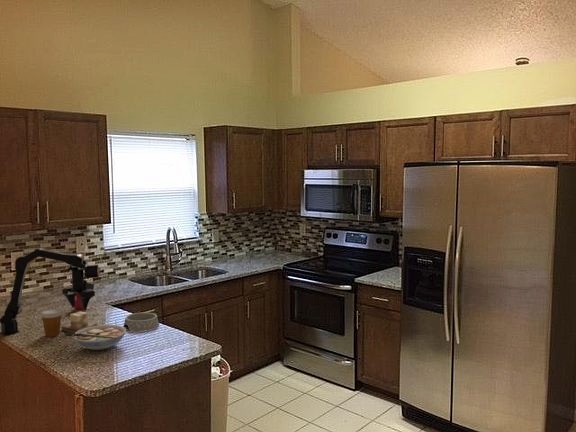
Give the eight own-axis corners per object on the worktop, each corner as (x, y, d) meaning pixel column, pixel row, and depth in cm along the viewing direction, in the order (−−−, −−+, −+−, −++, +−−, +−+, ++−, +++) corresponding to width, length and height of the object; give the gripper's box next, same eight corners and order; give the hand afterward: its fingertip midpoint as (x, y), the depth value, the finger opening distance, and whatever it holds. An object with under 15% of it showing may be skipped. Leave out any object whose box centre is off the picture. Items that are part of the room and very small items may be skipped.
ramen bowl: (138, 341, 235) (137, 324, 234) (110, 359, 213) (110, 340, 212) (91, 337, 241) (91, 321, 240) (60, 354, 219) (59, 336, 218)
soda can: (72, 312, 284) (71, 291, 283) (74, 308, 291) (73, 288, 290) (86, 311, 286) (85, 290, 285) (87, 307, 293) (86, 288, 292)
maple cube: (78, 327, 250) (77, 316, 249) (70, 325, 253) (70, 314, 252) (88, 324, 255) (87, 313, 254) (80, 322, 258) (80, 311, 257)
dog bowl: (147, 319, 272) (147, 309, 271) (164, 326, 259) (164, 316, 259) (118, 325, 260) (117, 316, 259) (135, 334, 247) (134, 323, 246)
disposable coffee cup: (42, 333, 247) (41, 309, 246) (63, 330, 251) (62, 307, 250) (41, 339, 238) (40, 315, 237) (62, 336, 242) (61, 312, 241)
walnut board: (77, 334, 246) (77, 330, 246) (61, 330, 252) (61, 326, 252) (97, 327, 256) (97, 323, 256) (82, 323, 262) (81, 320, 262)
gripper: (103, 277, 254) (104, 307, 255) (79, 273, 263) (80, 302, 265) (84, 281, 244) (86, 312, 246) (61, 277, 254) (62, 307, 255)
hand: (79, 308), depth 253 cm, fingers open, 9 cm apart
